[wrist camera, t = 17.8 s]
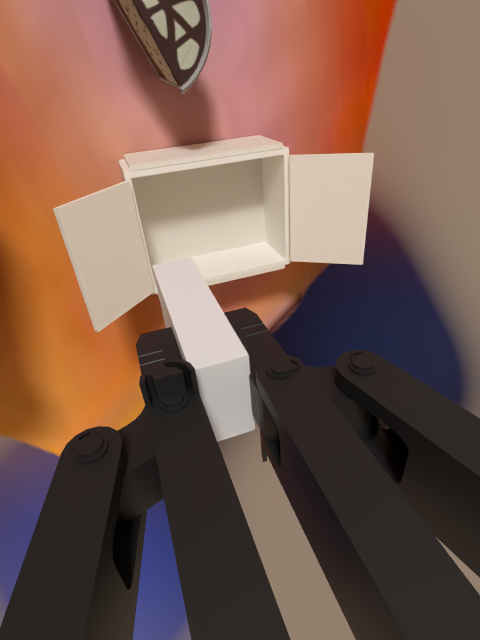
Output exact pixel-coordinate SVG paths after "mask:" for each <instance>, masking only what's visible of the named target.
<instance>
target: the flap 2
mask: <svg viewBox="0 0 480 640" xmlns="http://www.w3.org/2000/svg"><path fill="white" fill-rule="evenodd" d="M373 157H374V153H347V154H309V155H290V156H289V161H290V261H296V262H317V263H339V264H363V256H364V247H365V236H366V227H367V217H368V207H369V198H370V188H371V177H372V167H373Z"/></svg>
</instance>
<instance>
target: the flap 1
mask: <svg viewBox="0 0 480 640" xmlns="http://www.w3.org/2000/svg"><path fill="white" fill-rule="evenodd" d="M53 210H54V213H55V216H56V219H57V222H58V224H59V227H60V230H61V233H62V236H63V239H64V242H65V245H66V248H67V251H68V254H69V257H70V259H71V262H72V265H73V268H74V271H75V274H76V277H77V280H78V283H79V286H80V289H81V291H82V294H83V297H84V300H85V303H86V306H87V309H88V312H89V315H90V318H91V321H92V323H93V326H94V329H95V331H97V332H99V331H101V330H102V329H103V328H105V327H106V326H108V325H109V324H110V323H112V322H113V321H114V320H116V319H117V318H119V317H120V316H121V315H123V314H124V313H126V312H127V311H128V310H130V309H131V308H132V307H134V306H135V305H137V304H138V303H139V302H141V301H142V300H144V299H145V298H146V297H148V296H149V295H150V294H152V293H153V292H154V288H153V284H152V280H151V275H150V271H149V267H148V262H147V258H146V253H145V249H144V245H143V240H142V236H141V231H140V227H139V223H138V218H137V214H136V209H135V205H134V201H133V196H132V192H131V187H130V183H129V181H124V182H121V183H119V184H116V185H113V186H111V187H108V188H106V189H103V190H100V191H98V192H95V193H92V194H90V195H87V196H84V197H82V198H79V199H77V200H74V201H71V202H69V203H66V204H63V205H61V206H58V207H55V208H53Z"/></svg>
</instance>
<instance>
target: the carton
mask: <svg viewBox="0 0 480 640" xmlns="http://www.w3.org/2000/svg"><path fill="white" fill-rule="evenodd" d="M123 155H124V159H120V160H118V161H119V166H120V170H121V174H122V178H123V182H124V181H129V183H130V187H131V192H132V196H133V201H134V205H135V209H136V214H137V218H138V223H139V227H140V231H141V236H142V240H143V245H144V249H145V253H146V258H147V262H148V267H149V271H150V275H151V280H152V284H153V288H154V292H153V293H152V295H153V294H158V290H157V286H156V281H155V277H154V272H153V268H152V265H156V264H160V263H165V262H170V261H175V260H180V259H184V258H189V257H191V258H192V260H193V262H194V263H195V265H196V267H197V268H198V270H199V272H200V274H201V275H202V277H203V279H204V280H205V282H206V284H207V285H208V286H209V285H214V284H218V283H223V282H227V281H231V280H236V279H240V278H244V277H249V276H253V275H258V274H262V273H266V272H271V271H275V270H280V269H284V268H285V265H286V264H290V207H289V148H288V147H285V146H283V143H281V142H278V141H275V140H272V139H269V138H266V137H263V136H260V135H256V136H249V137H242V138H235V139H228V140H221V141H214V142H207V143H200V144H193V145H185V146H178V147H171V148H164V149H157V150H150V151H143V152H136V153H129V154H123ZM158 297H159V295H158Z"/></svg>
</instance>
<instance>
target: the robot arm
mask: <svg viewBox="0 0 480 640" xmlns="http://www.w3.org/2000/svg"><path fill="white" fill-rule="evenodd" d="M152 268H153V272H154V277H155V281H156V286H157V290H158V295H159V299H160V304H161V308H162V313H163V317H164V322H165V326H166V328H165V329H161V330H157V331H153V332H149V333H145V334H141V335H140V337H139V339H138V342H137V344H136V348H137V353H138V359H139V364H140V369H141V374H142V375H141V376H140V383H139V385H140V388H141V392H142V395H143V398H144V402H145V407H144V409H143V411H142V412H141V414H140V415H139V416H138V417H137V418H136V419H135V420H134V421H133V422H131V423H130V424H128V425H127V426H125V427H123V428H122V429H120V430H118V431H117V430H115V429H112V428H110V427H99V426H98V427H94V428H90V429H87V430H85V431H83V432H81V433H79V434H78V435H76V436H75V437H74V438H73V439H72V440H70V441H69V442H68V443H67V445H66V446H65V448H64V450H63V451H62V453H61V456H60V459H59V462H58V465H57V467H56V470H55V473H54V476H53V479H52V482H51V484H50V487H49V491H48V493H47V496H46V499H45V502H44V504H43V508H42V510H41V513H40V516H39V519H38V522H37V524H36V528H35V530H34V533H33V536H32V539H31V542H30V545H29V547H28V550H27V553H26V556H25V559H24V561H23V564H22V567H21V570H20V573H19V576H18V579H17V582H16V585H15V587H14V590H13V593H12V596H11V599H10V602H9V604H8V607H7V610H6V613H5V616H4V618H3V622H2V624H1V627H0V640H132V639H133V630H134V622H135V613H136V604H137V595H138V587H139V577H140V568H141V560H142V550H143V542H144V533H145V524H146V516H147V509H148V508H150V507H152V506H153V505H154V504H156V503H157V502H159V501H160V500H162V499H163V498H164V500H165V506H166V510H167V516H168V521H169V526H170V531H171V537H172V541H173V547H174V552H175V556H176V562H177V568H178V572H179V577H180V583H181V588H182V593H183V598H184V604H185V609H186V614H187V619H188V624H189V629H190V634H191V639H192V640H290V637H289V635H288V632H287V629H286V626H285V624H284V621H283V618H282V616H281V613H280V610H279V608H278V605H277V602H276V599H275V597H274V594H273V591H272V589H271V586H270V583H269V580H268V578H267V575H266V572H265V570H264V567H263V564H262V561H261V559H260V556H259V553H258V551H257V548H256V545H255V542H254V540H253V537H252V534H251V532H250V529H249V527H248V524H247V521H246V518H245V515H244V513H243V510H242V508H241V505H240V502H239V499H238V496H237V494H236V491H235V488H234V486H233V483H232V481H231V478H230V475H229V472H228V469H227V467H226V464H225V461H224V459H223V456H222V453H221V451H220V448H219V445H218V443H217V442H218V441H221V440H224V439H227V438H230V437H234V436H236V435H240V434H243V433H246V432H249V431H252V430H255V423H254V418H255V420H256V422H257V424H258V426H259V428H260V437H261V450H262V457H263V462H265V461H267V456H268V458H269V459H270V462H271V464H272V466H273V468H274V470H275V472H276V474H277V476H278V479H279V480H280V483H281V485H282V487H283V489H284V491H285V493H286V495H287V497H288V499H289V501H290V503H291V506H292V508H293V510H294V512H295V514H296V516H297V518H298V520H299V522H300V524H301V526H302V529H303V530H304V533H305V535H306V537H307V539H308V541H309V543H310V545H311V547H312V549H313V551H314V553H315V555H316V558H317V559H318V562H319V564H320V566H321V568H322V570H323V572H324V574H325V576H326V578H327V580H328V583H329V585H330V587H331V589H332V591H333V593H334V595H335V597H336V599H337V601H338V603H339V606H340V607H341V610H342V612H343V614H344V616H345V618H346V620H347V622H348V624H349V626H350V628H351V630H352V633H353V635H354V637H355V639H356V640H480V595H479V594H478V592H477V591H476V590H475V588H474V587H473V586H472V585H471V583H470V582H469V581H468V579H467V578H466V577H465V575H464V574H463V573H462V571H461V570H460V569H459V568H458V566H457V565H456V564H455V562H454V561H453V560H452V558H451V557H450V556H449V554H448V553H447V552H446V550H445V549H444V548H443V546H442V545H441V544H440V543H439V541H438V540H437V538H438V539H439V540H440V541H441V542H442V543H443V544H444V545H445V546H446V547H447V548H449V549H450V550H451V551H452V552H453V553H454V554H455V555H456V556H457V557H458V558H459V559H460V560H461V561H462V562H464V563H465V564H466V565H467V566H468V567H469V568H470V569H471V570H472V571H473V572H474V573H475V574H476V575H478V576H479V577H480V418H478V417H476V416H475V415H473V414H472V413H470V412H468V411H467V410H465V409H464V408H462V407H460V406H459V405H457V404H456V403H454V402H452V401H451V400H449V399H448V398H446V397H444V396H443V395H441V394H440V393H438V392H437V391H435V390H433V389H432V388H430V387H429V386H427V385H425V384H424V383H422V382H421V381H419V380H417V379H416V378H414V377H413V376H411V375H409V374H408V373H406V372H405V371H403V370H401V369H400V368H398V367H397V366H395V365H393V364H392V363H390V362H388V361H387V360H385V359H384V358H382V357H381V356H379V355H377V354H374V353H372V352H368V351H363V350H356V351H349V352H346V353H343V354H342V355H341V356H340V357H338V359H337V362H336V367H307V366H305V365H304V363H302V362H301V361H300V360H299V359H298V358H295V357H293V356H290V355H286V354H285V353H284V351H283V350H282V348H281V347H280V346H279V344H278V343H277V342H276V340H275V339H274V337H273V336H272V335H271V333H270V332H269V331H268V329H267V328H266V326H265V325H264V324H263V322H262V321H261V319H260V318H259V317H258V315H257V314H256V313H254V312H252V311H250V310H249V309H247V308H242V309H238V310H234V311H230V312H225V313H224V312H223V311H222V309H221V307H220V306H219V304H218V302H217V301H216V299H215V297H214V296H213V294H212V292H211V290H210V289H209V287H208V285H207V284H206V282H205V280H204V279H203V277H202V275H201V274H200V272H199V270H198V268H197V267H196V265H195V263H194V262H193V260H192V258H191V257H189V258H184V259H180V260H175V261H170V262H165V263H160V264H156V265H152ZM436 537H437V538H436Z"/></svg>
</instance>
